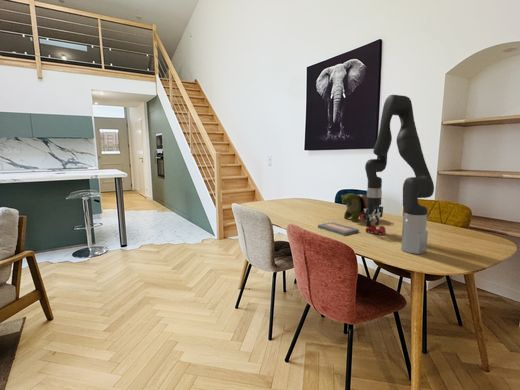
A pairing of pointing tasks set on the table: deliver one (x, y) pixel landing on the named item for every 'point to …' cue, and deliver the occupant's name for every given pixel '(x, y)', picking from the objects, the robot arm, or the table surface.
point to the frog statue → (354, 205)
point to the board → (338, 228)
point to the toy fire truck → (373, 229)
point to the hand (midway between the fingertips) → (372, 225)
